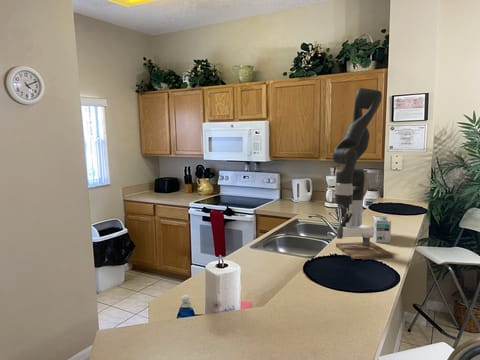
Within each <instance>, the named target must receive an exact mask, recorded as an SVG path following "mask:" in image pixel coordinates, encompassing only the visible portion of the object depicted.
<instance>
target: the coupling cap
mask: <svg viewBox="0 0 480 360" xmlns="http://www.w3.org/2000/svg"><path fill="white" fill-rule="evenodd" d="M357 237H358V238H359V237H360V238H363V237H365V238H370V239H371V238H373V237H374V227H373V225H369V224H362V225H360V227H342V226H340V225H338V226H336V238H337V239H339V240H341V239H343V238H357Z"/></svg>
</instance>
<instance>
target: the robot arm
mask: <svg viewBox="0 0 480 360" xmlns="http://www.w3.org/2000/svg"><path fill="white" fill-rule="evenodd" d="M382 95H383V93H382V91H381V90H378V89H373V88H371V89H370V88H365V87H361V88H358V90H357V92H356V94H355V100H354V106H353V115H352V116H353V118H352V123H351V124H350V125H349V126H348V128H347V131H346V132H345V135H344V137H343V139H342V140H341V141H340V142H339V144H337V146H336V147H335V148H334V150H333V152H332V160H333V162H334V163H335V164H338V165H344V166H343V169H338V170H337V171H336V174H335V186H334V188H335V189H334V203H335V204H336V205H337V208H335V215H336V217H337V220H338V222H339V226H342V227H360V225H363V203H364V202H363V200H364V199H363V198H364V193H365V192H364V189H365V180H366V178H365V177H366V176H365V171H364V170H363V169H362V168H355V167H356V165H357V161H358V160H359V159H360V158H361V157H362V156H363V155H364V154H365V152H366V151H367V149H368V147H369V141H370V131H369V129H368V125H370V122H371V121H372V119H373V117H374V116H375V114H376V112H377V111H378V109H379V107H380V105H381V102H382V99H383V96H382ZM363 110H366V112H365V113H364V114H363ZM353 187H354V188H353Z"/></svg>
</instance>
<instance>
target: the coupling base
mask: <svg viewBox="0 0 480 360" xmlns="http://www.w3.org/2000/svg"><path fill="white" fill-rule="evenodd" d="M335 248H337V249H338V250H340V251H341V252H342V253H344V254H345V255H347V256H348V257H349V256H350V257H351V259H352V258H353V259H362V260H375V259H376V260H377V259H380V260H381V259H393V258H394V254H393V253H391V252H390V251H388V250H387V249H384V248H382V247H381V246H379V245H377V244H375V243H373V242H372V241H371V238H365V237H362V241H360V242H357V241H355V242H340V243H339V242H336V243H335ZM350 257H349V258H350ZM353 259H352V260H353Z"/></svg>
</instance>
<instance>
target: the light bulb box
mask: <svg viewBox="0 0 480 360" xmlns="http://www.w3.org/2000/svg"><path fill="white" fill-rule="evenodd" d="M391 225H392V220H390V219H389V217H387V216H382V215H380V216H379V215H373V216H372V226H373V227H374V237H372V238H373V240H374V242H375V243H380V244H381V243H382V244H384V243H385V244H391V236H392V235H391V234H392V233H391V231H392V227H391Z"/></svg>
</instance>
